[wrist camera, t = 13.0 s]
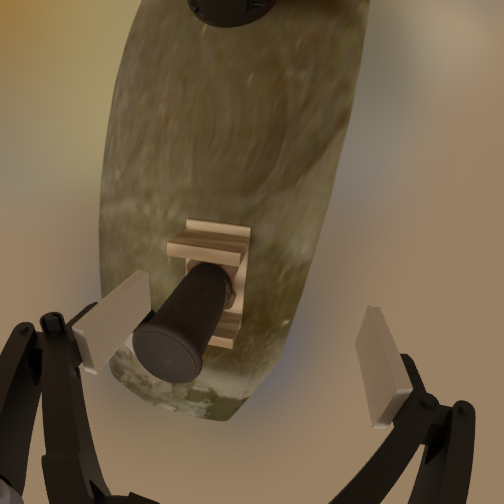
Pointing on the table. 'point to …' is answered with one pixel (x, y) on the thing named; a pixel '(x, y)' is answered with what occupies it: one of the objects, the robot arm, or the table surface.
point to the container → (184, 325)
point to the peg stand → (223, 255)
